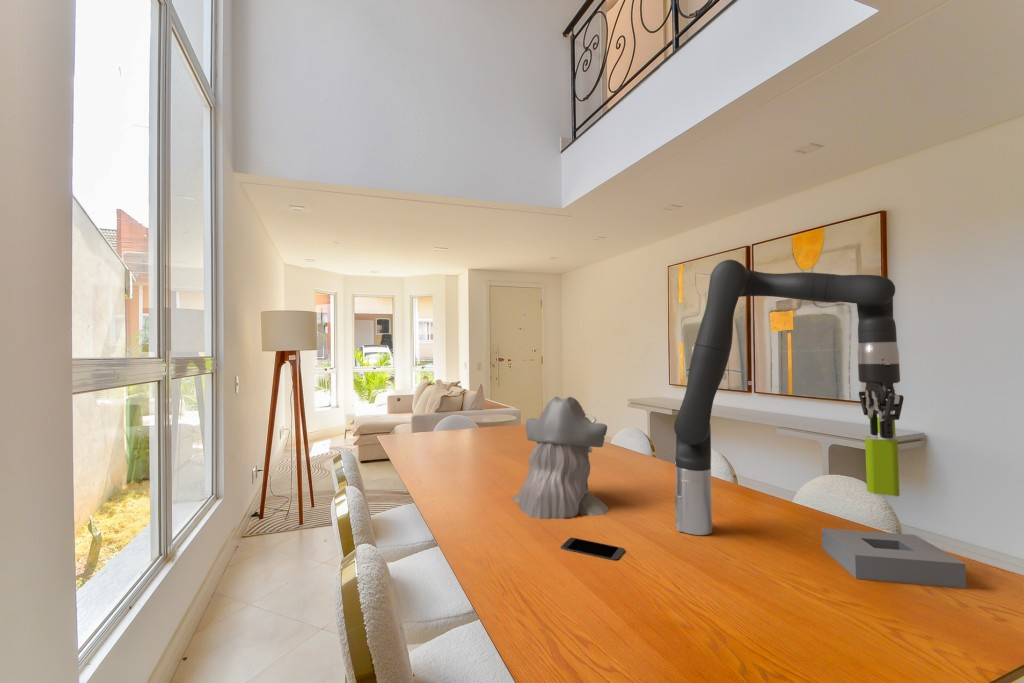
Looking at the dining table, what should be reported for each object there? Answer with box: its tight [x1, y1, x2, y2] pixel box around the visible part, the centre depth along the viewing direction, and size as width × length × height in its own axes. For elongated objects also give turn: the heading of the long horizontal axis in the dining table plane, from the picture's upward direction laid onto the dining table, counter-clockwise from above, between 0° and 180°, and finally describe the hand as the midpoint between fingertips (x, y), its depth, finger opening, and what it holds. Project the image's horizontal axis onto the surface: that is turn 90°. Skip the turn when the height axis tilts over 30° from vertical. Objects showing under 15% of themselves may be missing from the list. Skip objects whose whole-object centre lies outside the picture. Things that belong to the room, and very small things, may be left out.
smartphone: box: [560, 537, 626, 562], centre depth 113 cm, size 7×15×1 cm, turn 60°
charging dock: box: [821, 528, 967, 589], centre depth 103 cm, size 20×16×5 cm
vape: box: [864, 406, 900, 498], centre depth 105 cm, size 4×6×20 cm, turn 59°
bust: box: [511, 396, 611, 520], centre depth 151 cm, size 34×34×35 cm
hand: (881, 436), depth 105 cm, fingers closed on vape, 3 cm apart
